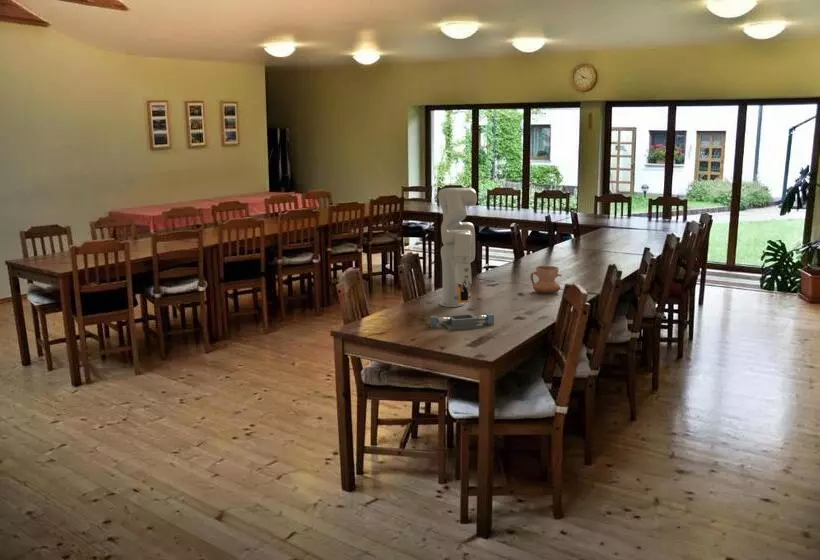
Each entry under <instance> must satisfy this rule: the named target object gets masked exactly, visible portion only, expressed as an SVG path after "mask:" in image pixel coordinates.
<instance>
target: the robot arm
mask: <svg viewBox="0 0 820 560" xmlns="http://www.w3.org/2000/svg"><path fill="white" fill-rule="evenodd" d="M437 197H438V203H439V205H440V209H441V211H442V222H441V226H440V233H441V242H442V244H443V245H442V246H441V248H440V257H441V265H442V271H441V272H442V273H441V274H442V300H440V301H439V305H440V306H441V307H445V308H446V307H447V308H457V307H459V308H460V307H462V306H464V305H465V303H459V302H457V301H456V300H455V299H454V296H456V286H461V288H462V292H461V300H468V288H470V286H471V285H472V283H473V282H472V267H471V263H472V262H474V261H475V258H476V231H475V225H474V224H473V223H472V222H469V221H464V220H465V219H466V218H467V208H466V207H474V206H476V204H477V202H478V196H477V191H476V190H475V189H474V188H473V187H445V188H442V189H441V188H440V190H439V191H438V195H437ZM463 286H465V287H464V288H463Z"/></svg>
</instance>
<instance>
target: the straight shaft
mask: <svg viewBox="0 0 820 560" xmlns="http://www.w3.org/2000/svg"><path fill="white" fill-rule="evenodd" d="M474 316H475V317H476V318H477V321H478V322H481V321H484V324H486V325H488V326H491V325H492V326H493V325H495V314H493V313H492V312H488V313H484V314H483V315H482V314H481V315H480V314H479V315H474Z"/></svg>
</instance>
